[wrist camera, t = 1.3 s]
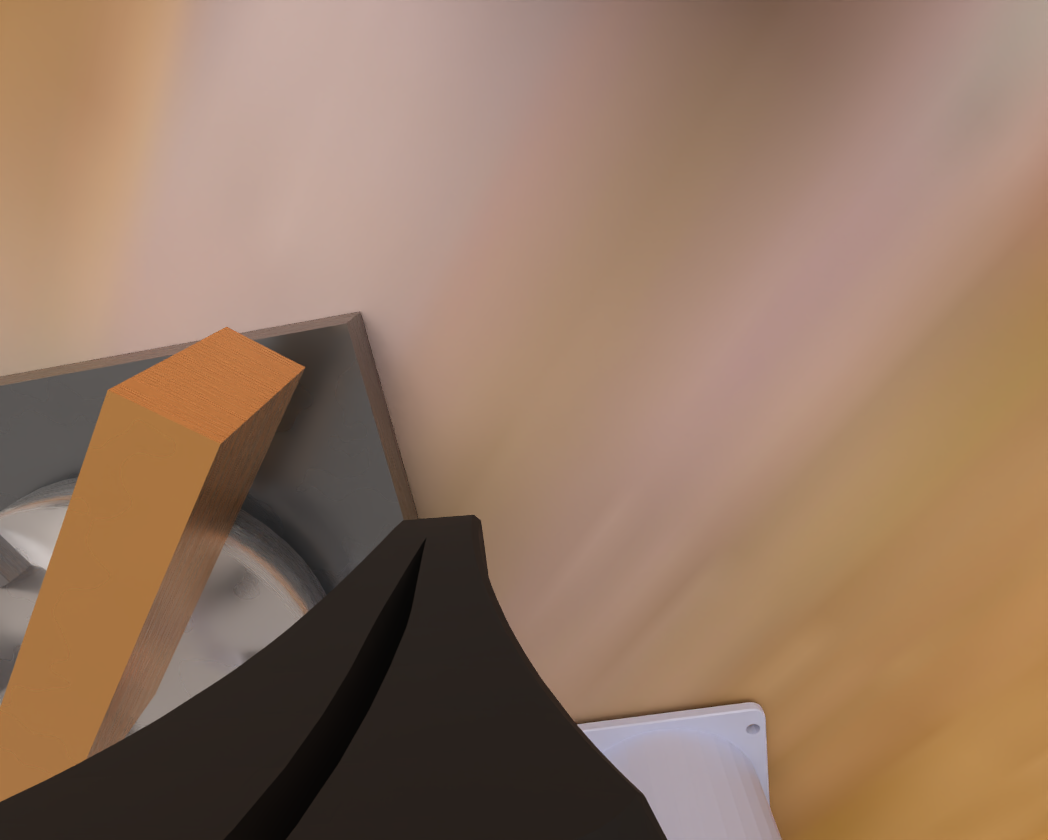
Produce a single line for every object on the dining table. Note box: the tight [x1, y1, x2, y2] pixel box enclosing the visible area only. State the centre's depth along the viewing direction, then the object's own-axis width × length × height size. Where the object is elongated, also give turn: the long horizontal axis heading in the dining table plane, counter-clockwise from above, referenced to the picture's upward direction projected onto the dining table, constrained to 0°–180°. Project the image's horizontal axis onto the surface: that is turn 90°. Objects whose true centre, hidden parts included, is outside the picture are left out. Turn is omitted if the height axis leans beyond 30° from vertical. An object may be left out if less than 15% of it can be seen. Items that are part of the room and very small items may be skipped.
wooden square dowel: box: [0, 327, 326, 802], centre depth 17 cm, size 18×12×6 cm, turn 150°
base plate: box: [0, 312, 418, 595], centre depth 22 cm, size 18×18×2 cm
